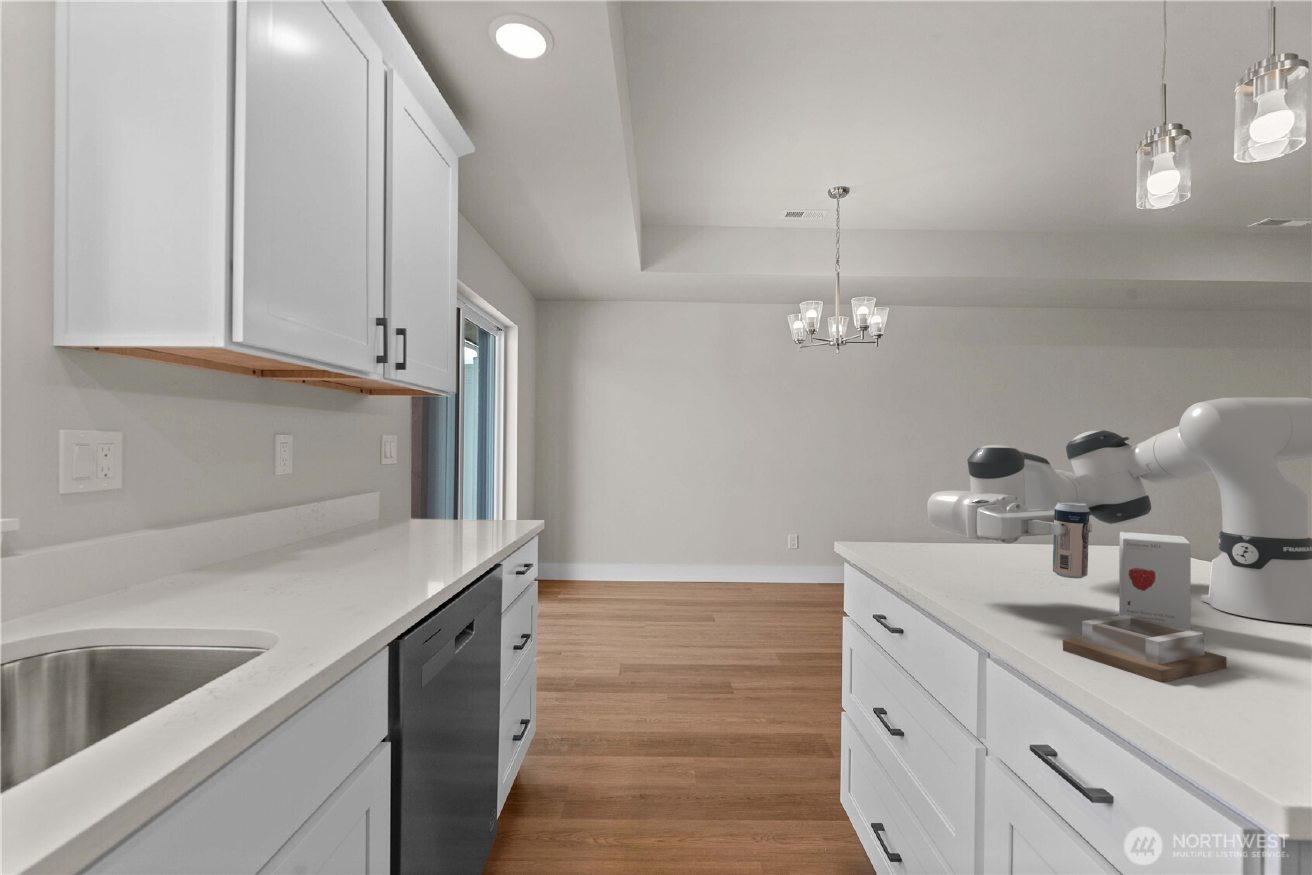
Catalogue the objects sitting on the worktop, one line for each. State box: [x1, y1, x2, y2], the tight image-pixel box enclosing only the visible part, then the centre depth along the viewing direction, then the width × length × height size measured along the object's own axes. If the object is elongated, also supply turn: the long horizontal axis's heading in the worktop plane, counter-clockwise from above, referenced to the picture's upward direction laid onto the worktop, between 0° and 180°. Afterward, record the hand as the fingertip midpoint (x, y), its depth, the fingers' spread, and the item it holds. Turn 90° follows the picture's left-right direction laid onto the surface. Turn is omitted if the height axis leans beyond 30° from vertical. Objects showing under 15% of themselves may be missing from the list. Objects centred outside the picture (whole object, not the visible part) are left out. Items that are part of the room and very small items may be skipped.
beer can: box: [1052, 502, 1090, 580], centre depth 101 cm, size 5×5×12 cm
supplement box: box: [1118, 531, 1192, 630], centre depth 104 cm, size 9×9×15 cm
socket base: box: [1062, 614, 1228, 683], centre depth 88 cm, size 14×13×4 cm
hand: (1076, 528), depth 100 cm, fingers closed on beer can, 5 cm apart
